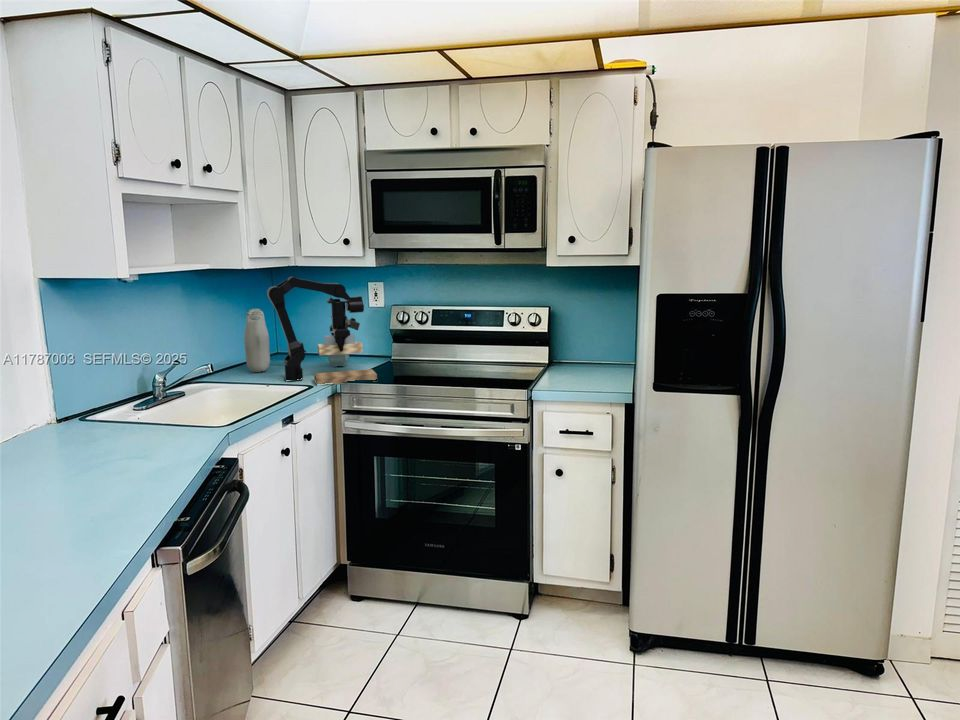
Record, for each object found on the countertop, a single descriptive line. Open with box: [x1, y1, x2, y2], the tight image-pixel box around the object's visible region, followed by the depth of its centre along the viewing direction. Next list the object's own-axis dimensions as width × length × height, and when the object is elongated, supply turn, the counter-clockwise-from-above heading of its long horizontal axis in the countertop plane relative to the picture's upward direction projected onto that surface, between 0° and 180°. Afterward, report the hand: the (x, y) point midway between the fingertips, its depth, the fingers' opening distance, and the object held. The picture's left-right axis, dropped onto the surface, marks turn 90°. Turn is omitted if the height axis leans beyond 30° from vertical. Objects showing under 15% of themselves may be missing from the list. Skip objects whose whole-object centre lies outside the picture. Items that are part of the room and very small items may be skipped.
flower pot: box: [327, 354, 350, 368], centre depth 315 cm, size 9×9×9 cm
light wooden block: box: [317, 341, 364, 356], centre depth 292 cm, size 18×6×4 cm, turn 109°
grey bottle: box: [243, 308, 271, 373], centre depth 302 cm, size 10×10×28 cm
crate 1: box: [323, 334, 336, 345], centre depth 290 cm, size 4×4×4 cm
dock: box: [313, 368, 378, 386], centre depth 283 cm, size 24×11×3 cm, turn 109°
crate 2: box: [344, 333, 356, 344], centre depth 293 cm, size 4×4×4 cm
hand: (340, 350), depth 293 cm, fingers closed on light wooden block, 5 cm apart
